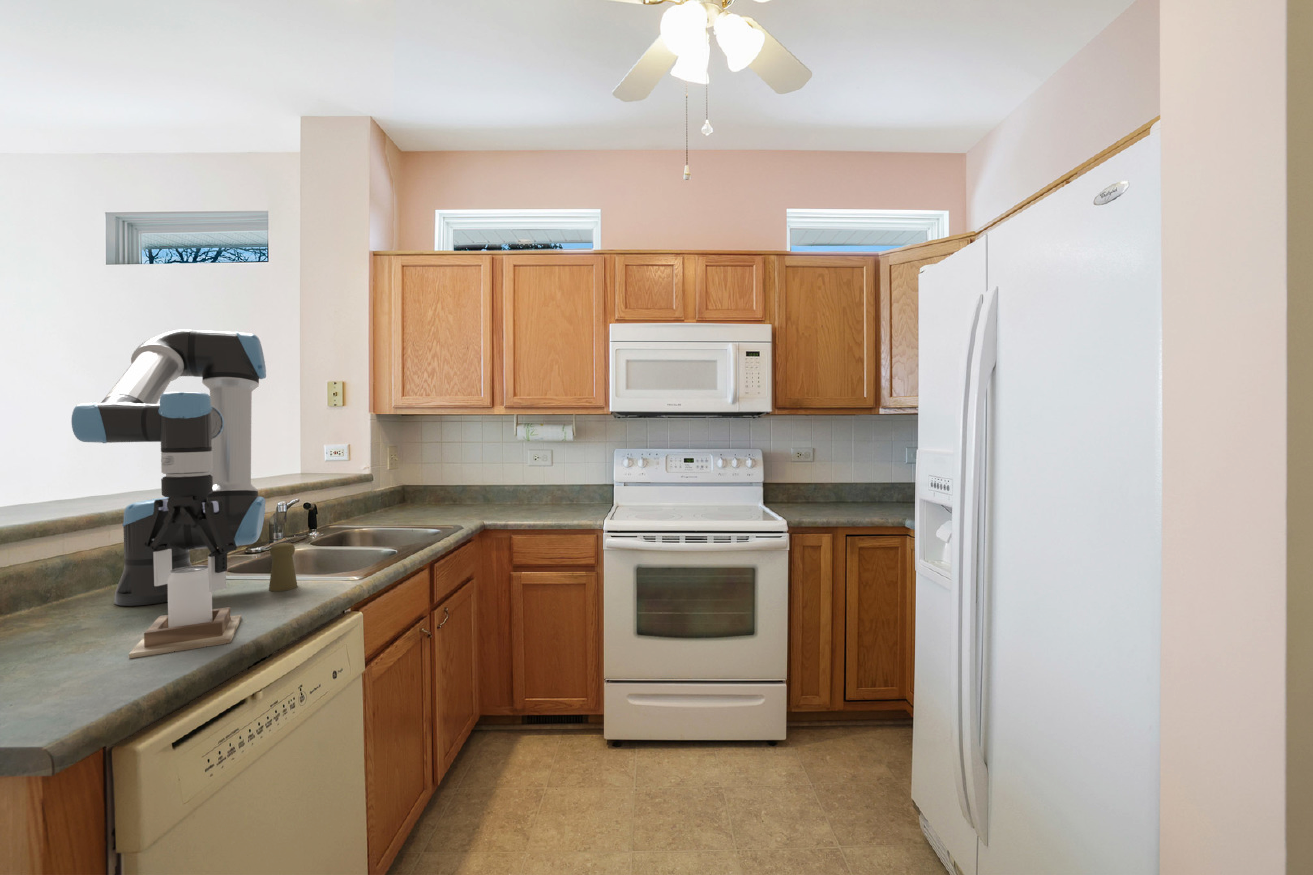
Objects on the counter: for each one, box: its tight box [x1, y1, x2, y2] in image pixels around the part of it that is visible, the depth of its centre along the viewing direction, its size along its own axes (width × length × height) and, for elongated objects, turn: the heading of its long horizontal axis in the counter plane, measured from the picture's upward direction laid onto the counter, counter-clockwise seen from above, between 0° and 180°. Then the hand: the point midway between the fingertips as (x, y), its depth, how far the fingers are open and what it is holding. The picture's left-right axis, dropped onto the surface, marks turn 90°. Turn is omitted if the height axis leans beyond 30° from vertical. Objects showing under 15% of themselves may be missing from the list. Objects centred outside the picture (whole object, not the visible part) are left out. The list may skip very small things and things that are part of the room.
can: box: [167, 564, 213, 628], centre depth 109 cm, size 6×6×12 cm
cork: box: [268, 542, 298, 592], centre depth 144 cm, size 6×6×11 cm
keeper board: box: [128, 606, 242, 659], centre depth 110 cm, size 16×14×3 cm
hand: (190, 587), depth 110 cm, fingers open, 13 cm apart
